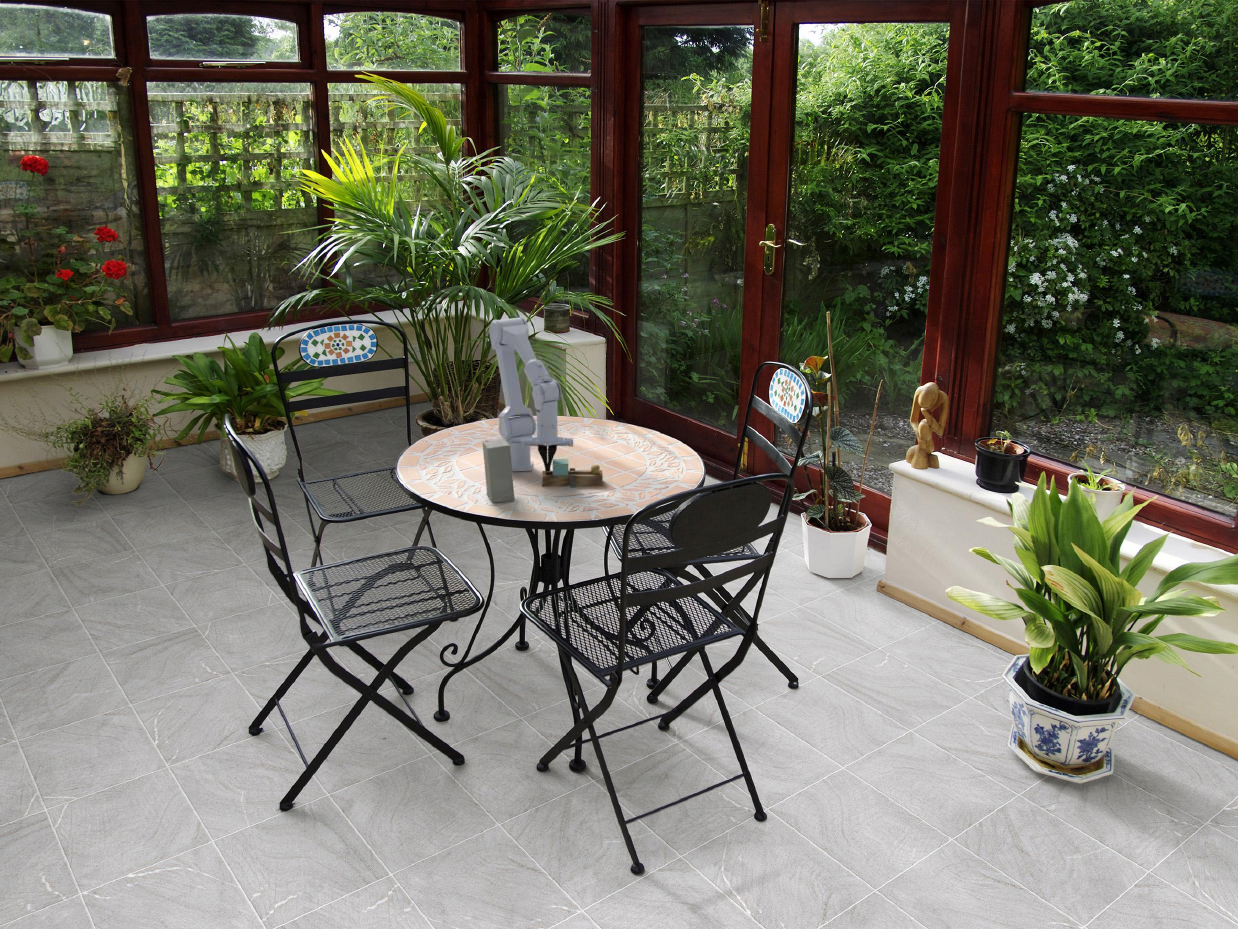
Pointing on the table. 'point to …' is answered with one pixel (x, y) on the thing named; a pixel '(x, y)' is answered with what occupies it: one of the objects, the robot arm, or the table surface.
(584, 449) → the table surface
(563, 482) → the wooden slide track
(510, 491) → the skincare box
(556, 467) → the block
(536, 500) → the table surface
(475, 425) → the table surface
